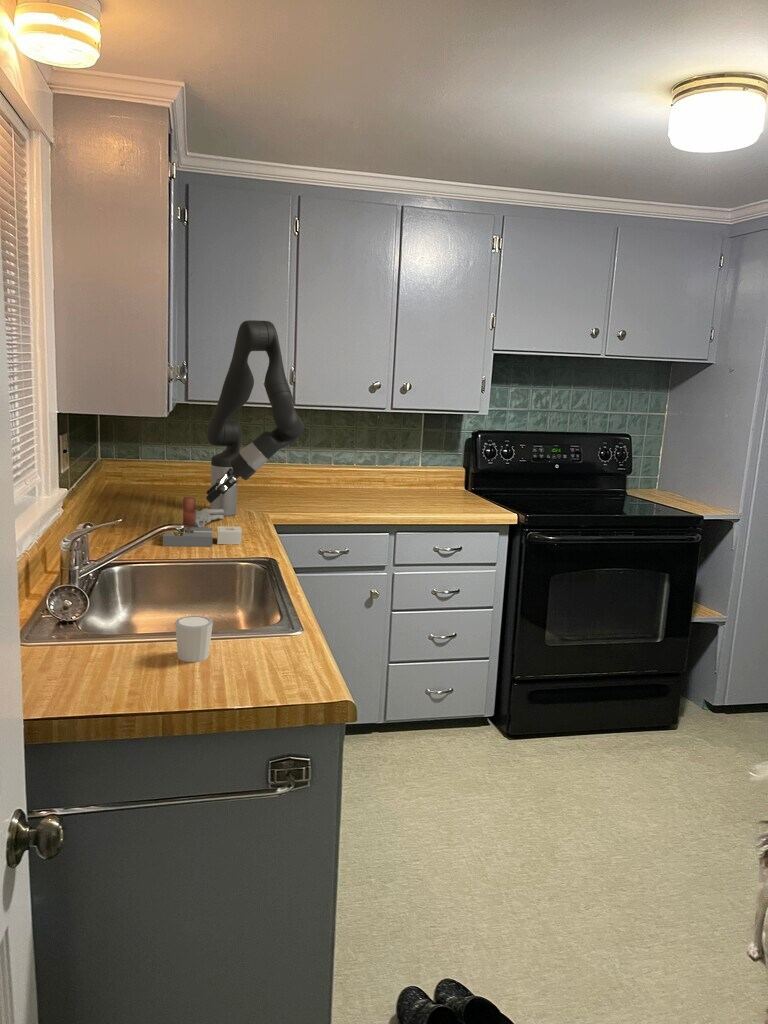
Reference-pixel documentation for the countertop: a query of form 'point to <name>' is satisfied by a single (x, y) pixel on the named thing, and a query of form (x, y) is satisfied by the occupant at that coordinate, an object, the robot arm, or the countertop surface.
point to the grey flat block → (190, 538)
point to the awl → (189, 512)
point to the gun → (207, 516)
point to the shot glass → (193, 638)
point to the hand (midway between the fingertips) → (208, 497)
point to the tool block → (229, 535)
